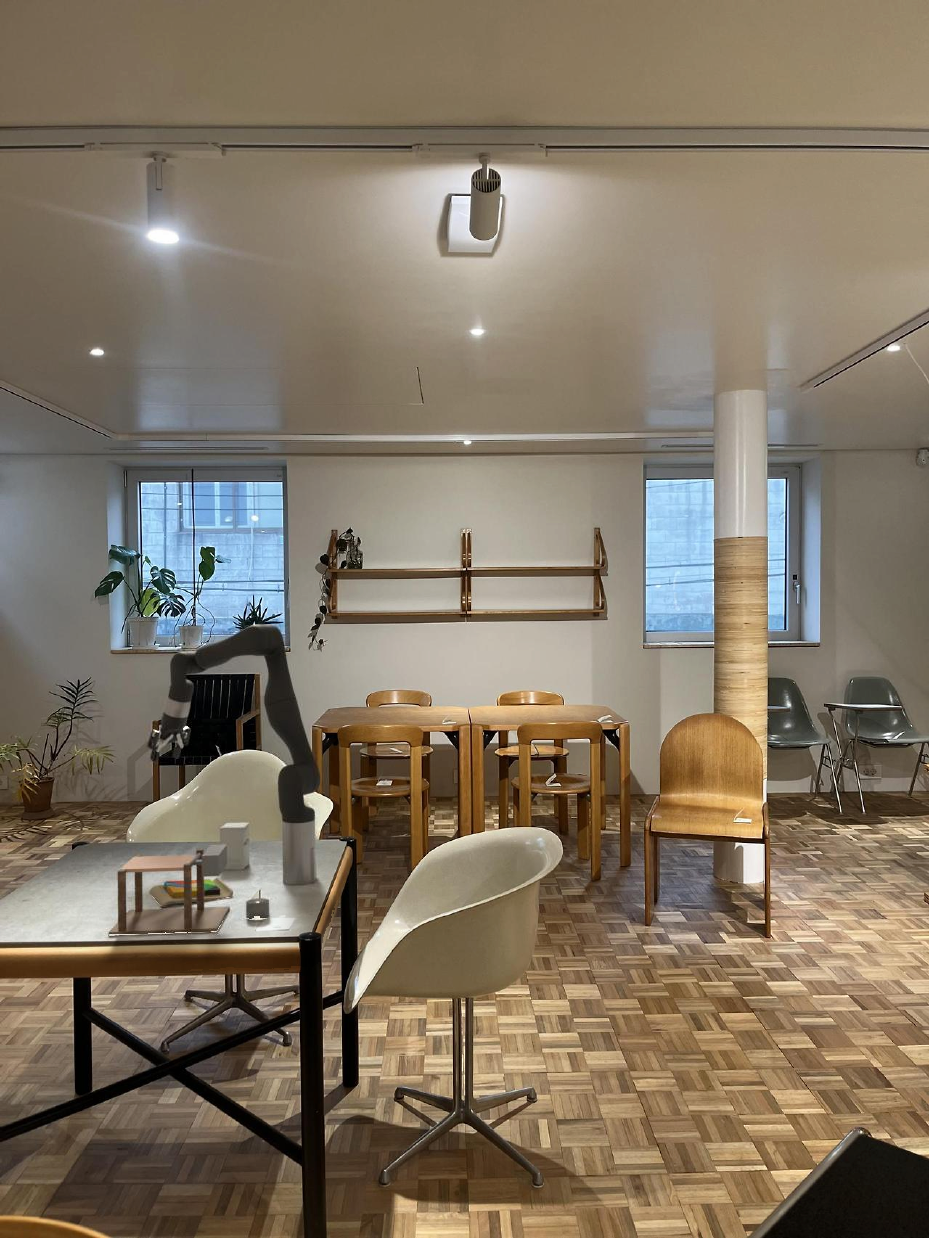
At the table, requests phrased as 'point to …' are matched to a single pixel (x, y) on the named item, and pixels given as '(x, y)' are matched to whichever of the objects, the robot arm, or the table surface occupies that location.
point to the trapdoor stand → (167, 918)
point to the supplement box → (236, 844)
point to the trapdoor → (182, 862)
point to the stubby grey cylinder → (257, 908)
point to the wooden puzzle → (175, 891)
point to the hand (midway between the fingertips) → (164, 759)
